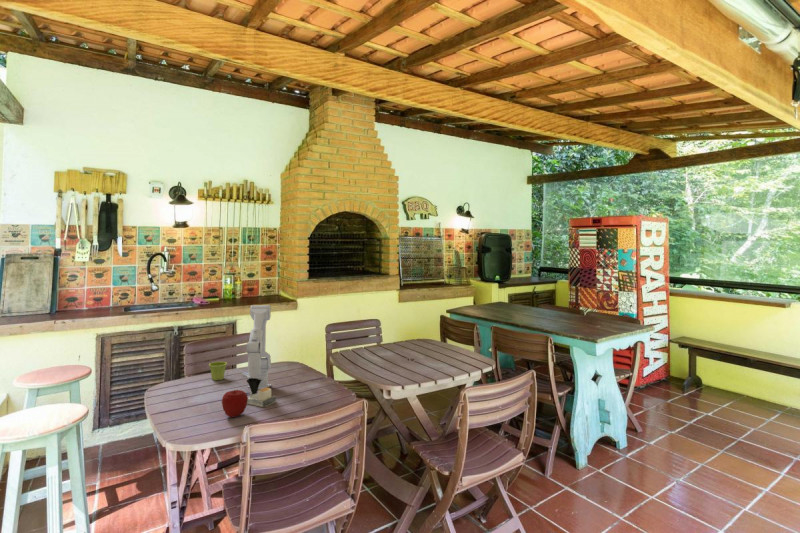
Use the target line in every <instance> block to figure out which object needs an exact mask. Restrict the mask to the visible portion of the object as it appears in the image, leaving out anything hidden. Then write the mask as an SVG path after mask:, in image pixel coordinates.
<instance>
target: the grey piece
mask: <svg viewBox="0 0 800 533" xmlns="http://www.w3.org/2000/svg"><path fill="white" fill-rule="evenodd" d="M276 402H277V396H276V395H273V396H271V398H269V399H266V400H264V401H260V400H258V393H256V394H252V392H250V393H249V396H248V400H247V405H250V406H255V407H259V408H263V409H264V408H266V407H269V406H271V405H273V404H275V403H276Z"/></svg>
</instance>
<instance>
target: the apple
mask: <svg viewBox="0 0 800 533" xmlns="http://www.w3.org/2000/svg"><path fill="white" fill-rule="evenodd" d="M248 398H249V396H248V394H247V393H246V392H244V391H243V390H241V389H234V390H230V391H226V392H225V393H224V394H223V396H222V399H221V405H222V409H223V411H224V414H225V415H226V416H228V417H230V418H237V417H239V416H241V414H244V413H245V410H246V407H247V405H248V404H247V400H248Z"/></svg>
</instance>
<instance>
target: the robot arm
mask: <svg viewBox="0 0 800 533" xmlns="http://www.w3.org/2000/svg"><path fill="white" fill-rule="evenodd" d="M271 309H272V307H271V305H270V304H267V305H266V304H260V305H258V304H251V306H250V309H249V311H250V312H249V314H250V317H251V319H252V321H253V328H252V329H251V330H250V333H249V340H248V342H247V344H246V352H247V353H246V356H247V371H244V372H241V378H247V380H246V383H247V384H248V386H247V388H250V393H252V394H258V391H259V390H261V389H263V388H270V387H271V386H272V384H271V383H270V384H269V370H270V369H271V365H272V358H271V357H272V356H271V354H270V353H269V352H267V351H266V336H267V334H266V333H267V332H266V331H267V330H266V329H267V327H266V326H267V322H268V321H270V320H271V315H272V314H271V311H272V310H271Z"/></svg>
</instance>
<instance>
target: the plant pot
mask: <svg viewBox="0 0 800 533" xmlns="http://www.w3.org/2000/svg"><path fill="white" fill-rule="evenodd" d="M227 364H228V362H227V361H226V362H225V361H215V362H214V361H213V362H210V363H209V364H208V366H209V369H210V374H211V380H212V381H221V380H223V379H224V378H225V371H226V367H227Z"/></svg>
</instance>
